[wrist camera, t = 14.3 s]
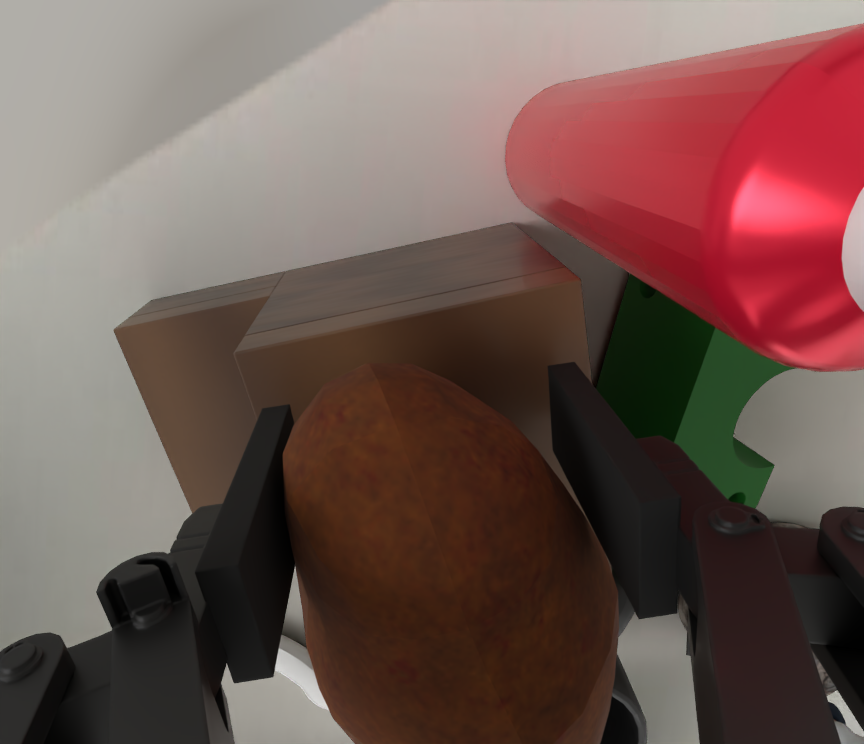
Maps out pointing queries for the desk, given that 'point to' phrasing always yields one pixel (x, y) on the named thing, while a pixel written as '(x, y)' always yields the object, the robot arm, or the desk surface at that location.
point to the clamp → (686, 387)
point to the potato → (444, 569)
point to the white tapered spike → (299, 669)
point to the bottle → (719, 186)
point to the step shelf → (355, 342)
